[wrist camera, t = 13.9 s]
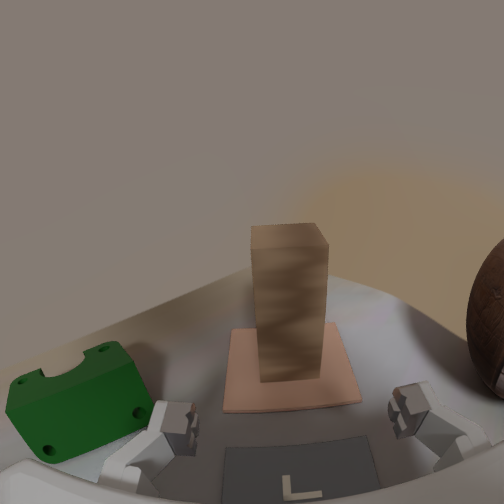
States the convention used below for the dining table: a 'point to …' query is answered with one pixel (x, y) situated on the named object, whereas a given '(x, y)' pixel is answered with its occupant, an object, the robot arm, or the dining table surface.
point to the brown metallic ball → (488, 321)
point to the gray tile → (299, 472)
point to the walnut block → (289, 299)
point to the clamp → (80, 405)
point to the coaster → (288, 392)
